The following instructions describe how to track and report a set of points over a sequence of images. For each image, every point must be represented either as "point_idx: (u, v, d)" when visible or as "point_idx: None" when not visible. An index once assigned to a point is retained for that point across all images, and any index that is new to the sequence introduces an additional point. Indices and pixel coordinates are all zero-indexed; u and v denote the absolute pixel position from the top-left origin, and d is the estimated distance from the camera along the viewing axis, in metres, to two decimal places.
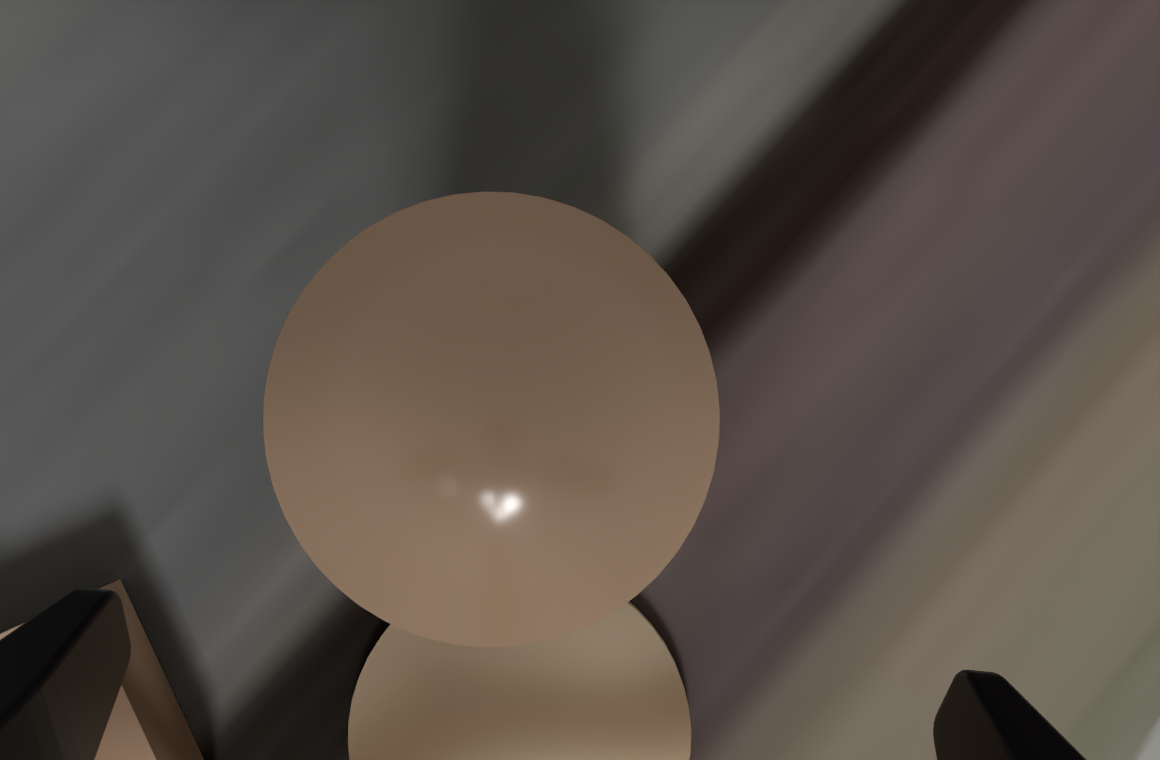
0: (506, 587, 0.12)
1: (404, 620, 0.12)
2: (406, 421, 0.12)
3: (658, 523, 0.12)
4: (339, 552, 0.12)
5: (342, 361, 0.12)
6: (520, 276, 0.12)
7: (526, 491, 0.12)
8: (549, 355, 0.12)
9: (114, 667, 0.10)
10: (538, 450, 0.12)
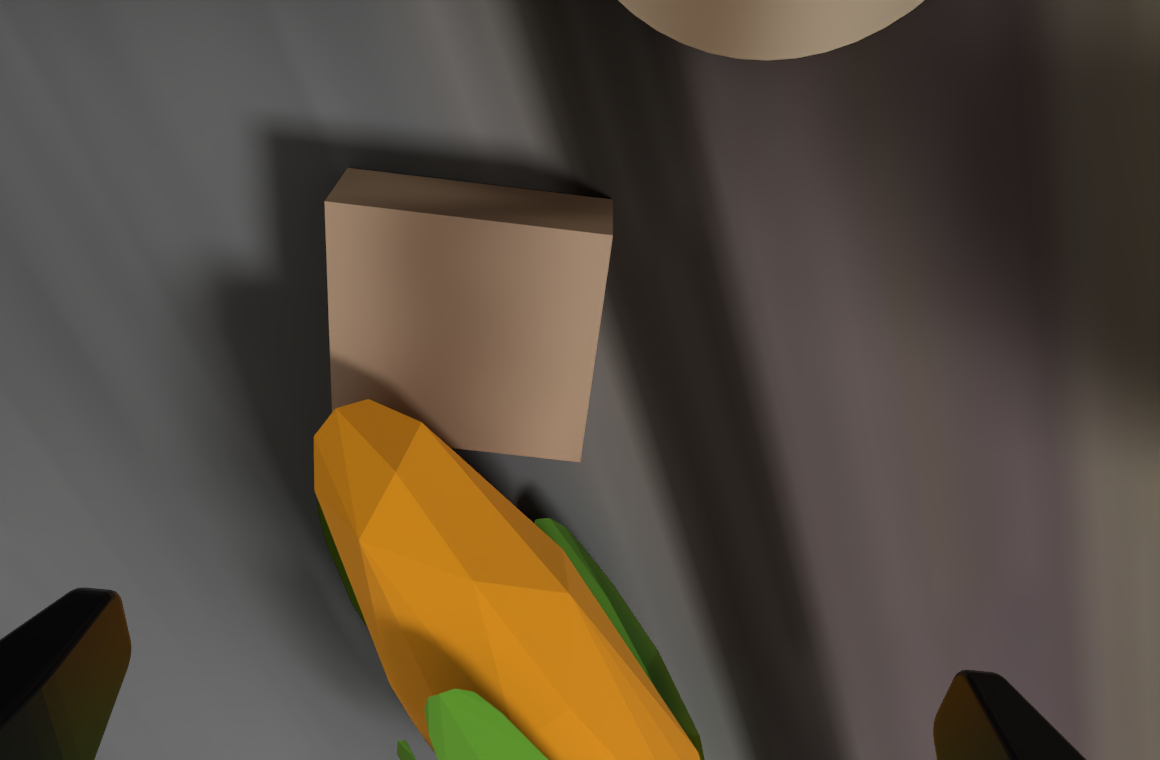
0: None
1: None
2: None
3: None
4: None
5: None
6: None
7: None
8: None
9: (114, 667, 0.10)
10: None
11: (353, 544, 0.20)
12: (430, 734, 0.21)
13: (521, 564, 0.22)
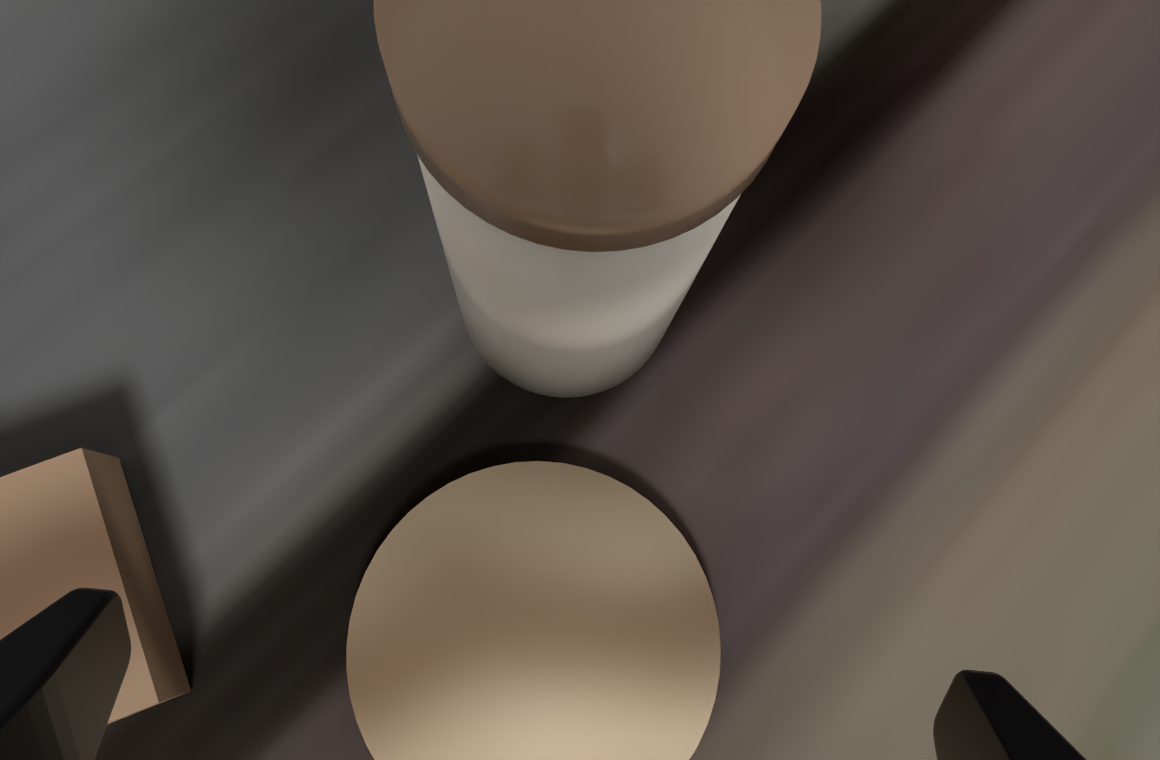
0: (607, 154, 0.12)
1: (500, 180, 0.12)
2: None
3: (761, 104, 0.12)
4: (440, 106, 0.12)
5: None
6: None
7: (631, 65, 0.12)
8: None
9: (114, 667, 0.10)
10: (644, 30, 0.12)
11: None
12: None
13: None
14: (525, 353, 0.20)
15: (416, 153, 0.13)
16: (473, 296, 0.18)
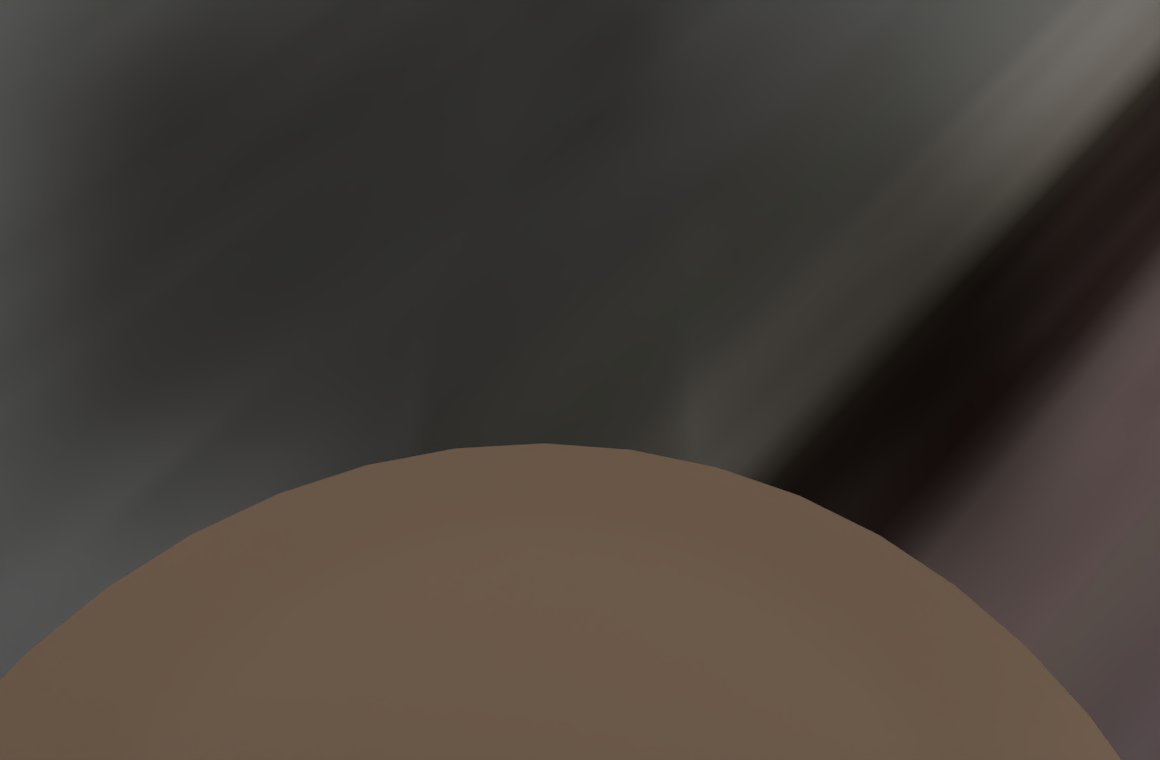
0: None
1: None
2: None
3: None
4: None
5: None
6: (645, 708, 0.04)
7: None
8: None
9: None
10: None
11: None
12: None
13: None
14: None
15: None
16: None
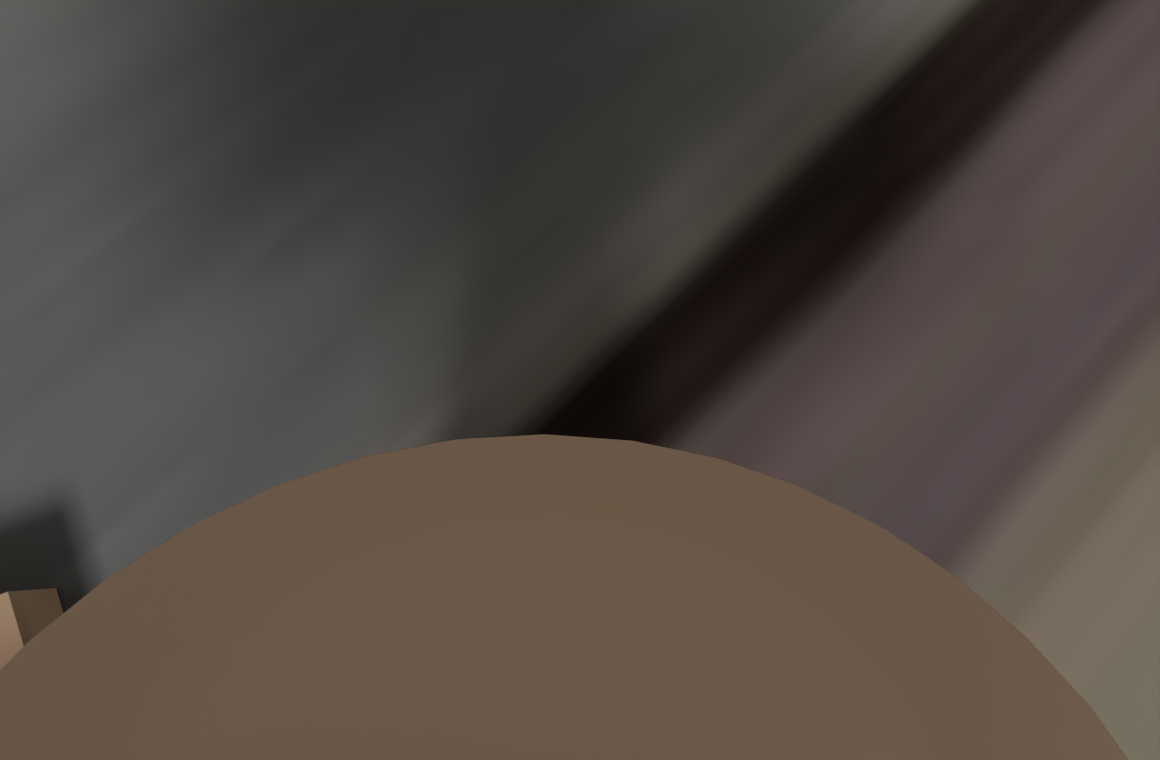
0: None
1: None
2: None
3: None
4: None
5: None
6: (646, 699, 0.04)
7: None
8: None
9: None
10: None
11: None
12: None
13: None
14: None
15: None
16: None
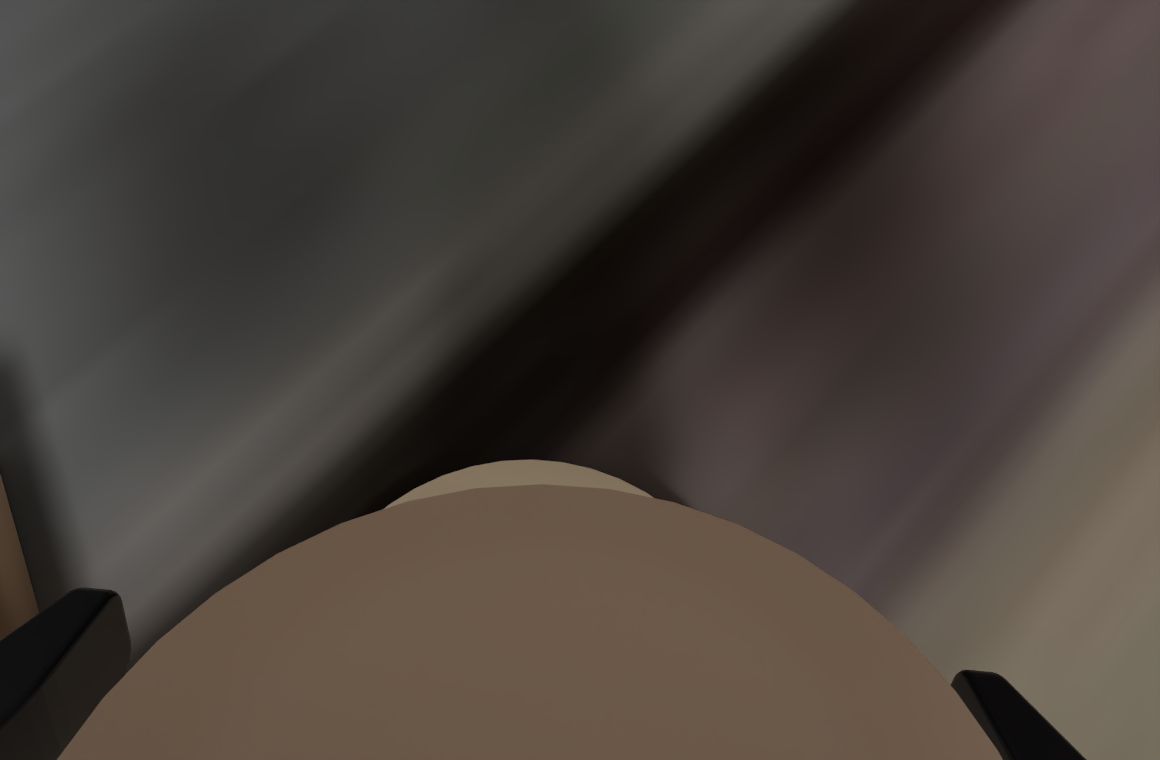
0: None
1: None
2: None
3: None
4: None
5: None
6: (619, 685, 0.05)
7: None
8: None
9: (114, 667, 0.10)
10: None
11: None
12: None
13: None
14: None
15: None
16: None
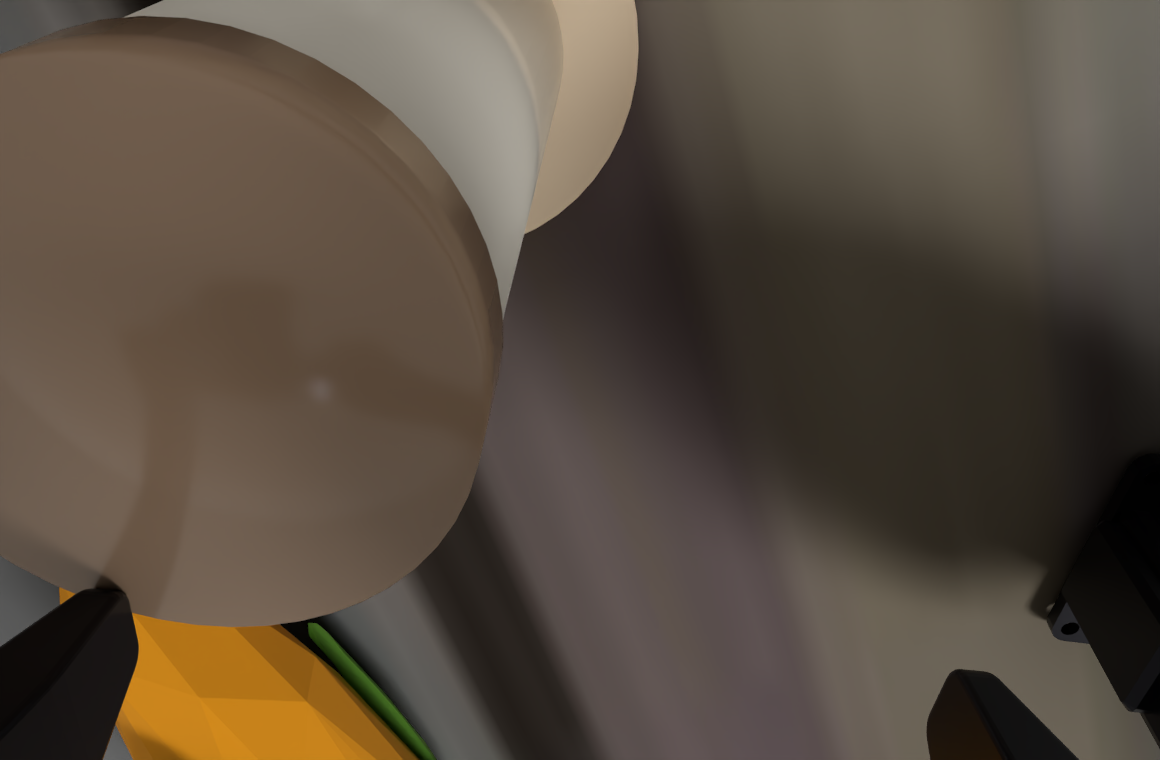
0: (386, 480, 0.09)
1: (372, 584, 0.09)
2: (124, 478, 0.09)
3: (390, 279, 0.08)
4: (260, 603, 0.10)
5: (26, 500, 0.09)
6: None
7: (269, 404, 0.08)
8: (83, 289, 0.08)
9: (122, 668, 0.10)
10: (221, 363, 0.08)
11: None
12: None
13: (256, 677, 0.24)
14: None
15: None
16: None
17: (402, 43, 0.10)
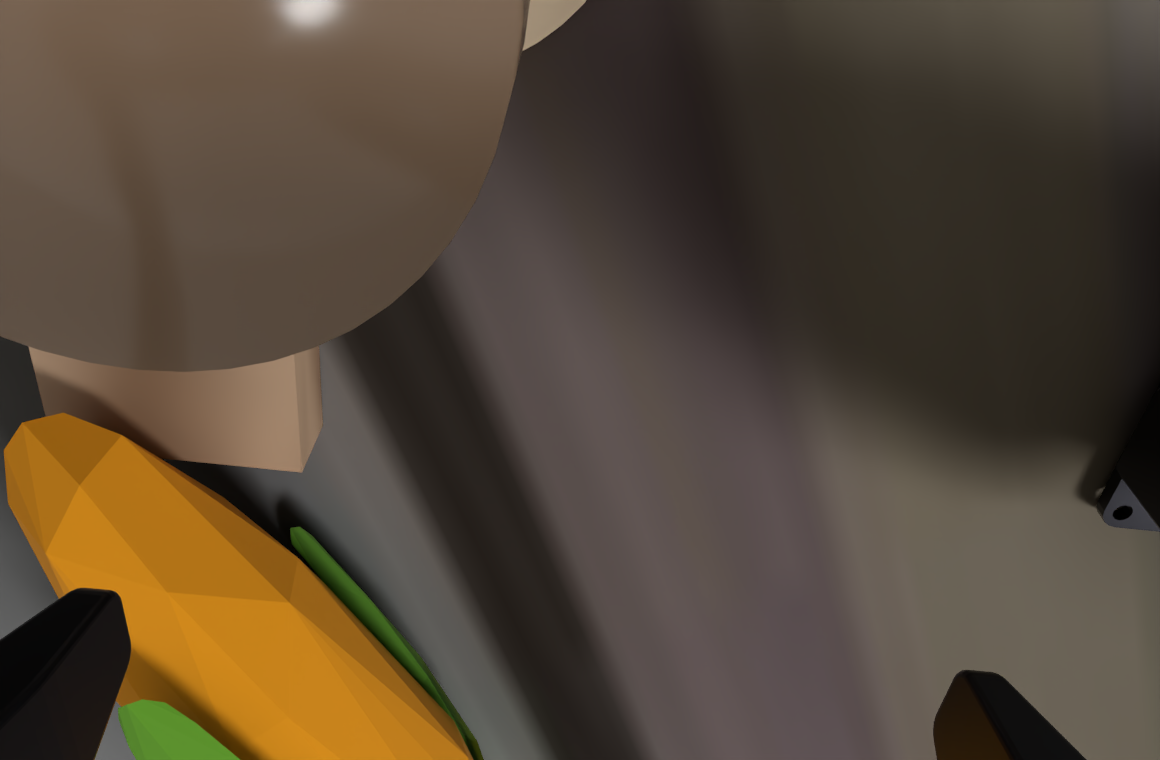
0: (382, 137, 0.06)
1: (366, 303, 0.07)
2: (26, 140, 0.06)
3: None
4: (220, 334, 0.07)
5: None
6: None
7: (221, 10, 0.06)
8: None
9: (114, 667, 0.10)
10: None
11: (44, 557, 0.20)
12: (129, 744, 0.21)
13: (232, 574, 0.22)
14: None
15: None
16: None
17: None
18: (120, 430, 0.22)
